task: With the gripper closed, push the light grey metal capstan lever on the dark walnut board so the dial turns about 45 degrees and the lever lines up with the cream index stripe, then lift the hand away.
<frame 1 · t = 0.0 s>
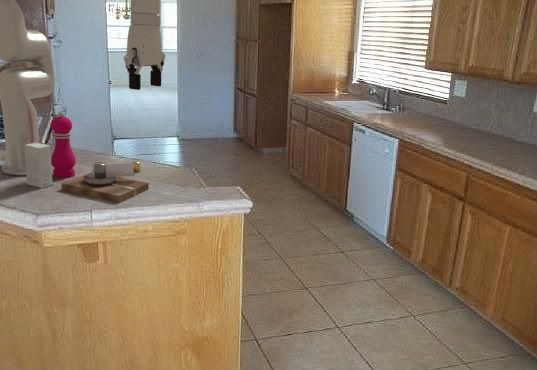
hand: (145, 87, 140), 31 cm above the countertop, tool pointing down, fingers open, 9 cm apart
skincare box: (39, 185, 152), on the countertop
walnut board: (105, 189, 153), on the countertop
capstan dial: (112, 171, 153), point 5 cm above the countertop, hinge at 45.0°
pepper mill: (64, 175, 162), on the countertop
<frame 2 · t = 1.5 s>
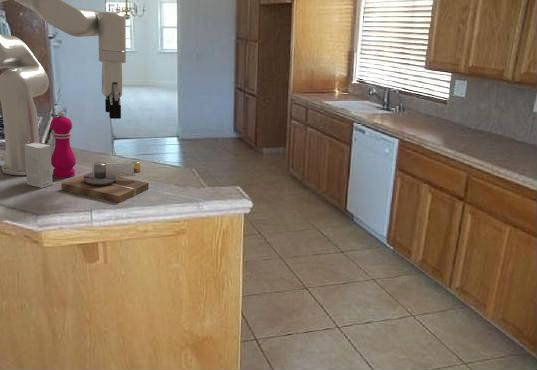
hand: (113, 115, 156), 20 cm above the countertop, tool pointing down, fingers open, 9 cm apart
nothing on the countertop moved.
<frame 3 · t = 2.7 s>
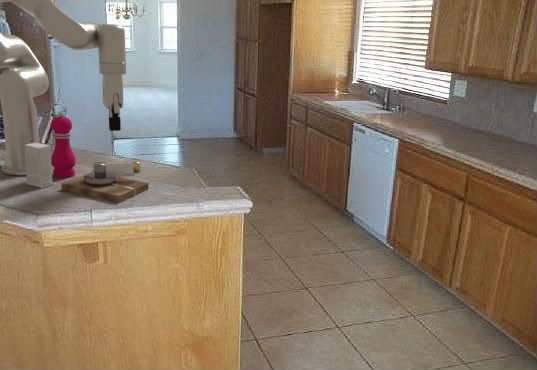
hand: (114, 130, 157), 16 cm above the countertop, tool pointing down, fingers closed
nothing on the countertop moved.
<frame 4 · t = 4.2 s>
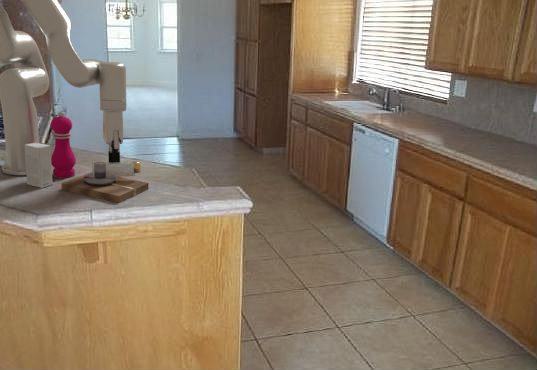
hand: (114, 164, 160), 5 cm above the countertop, tool pointing down, fingers closed
nothing on the countertop moved.
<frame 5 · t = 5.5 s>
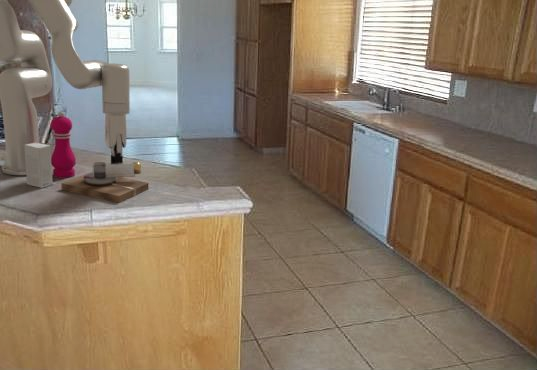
hand: (116, 168, 156), 5 cm above the countertop, tool pointing down, fingers closed
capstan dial: (112, 172, 153), point 5 cm above the countertop, hinge at 39.5°, touching gripper
everything else where it was.
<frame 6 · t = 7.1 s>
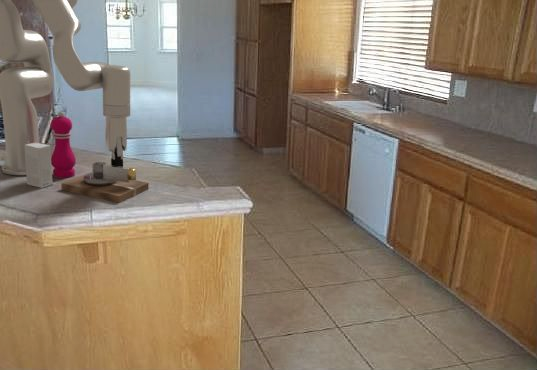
hand: (117, 171, 153), 5 cm above the countertop, tool pointing down, fingers closed
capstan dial: (110, 174, 151), point 5 cm above the countertop, hinge at 4.8°, touching gripper
everything else where it was.
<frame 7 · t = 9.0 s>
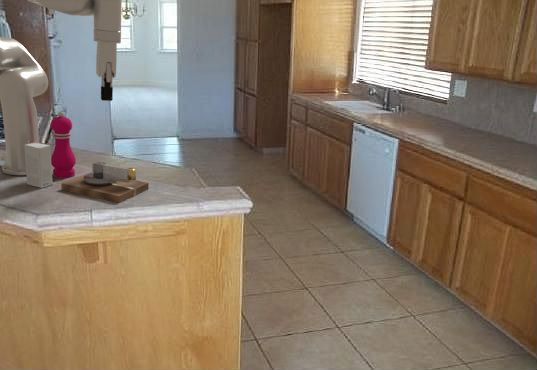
hand: (106, 100, 155), 24 cm above the countertop, tool pointing down, fingers closed
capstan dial: (110, 174, 151), point 5 cm above the countertop, hinge at 4.7°
everything else where it was.
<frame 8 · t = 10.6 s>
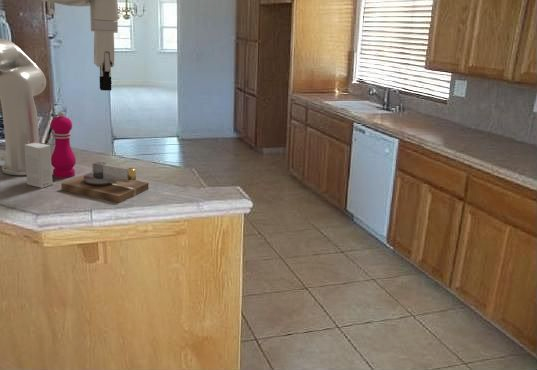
hand: (105, 89, 157), 27 cm above the countertop, tool pointing down, fingers closed
nothing on the countertop moved.
at the end: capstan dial at +5° (first picture: +45°); pepper mill moved 0.2 cm from its start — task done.
